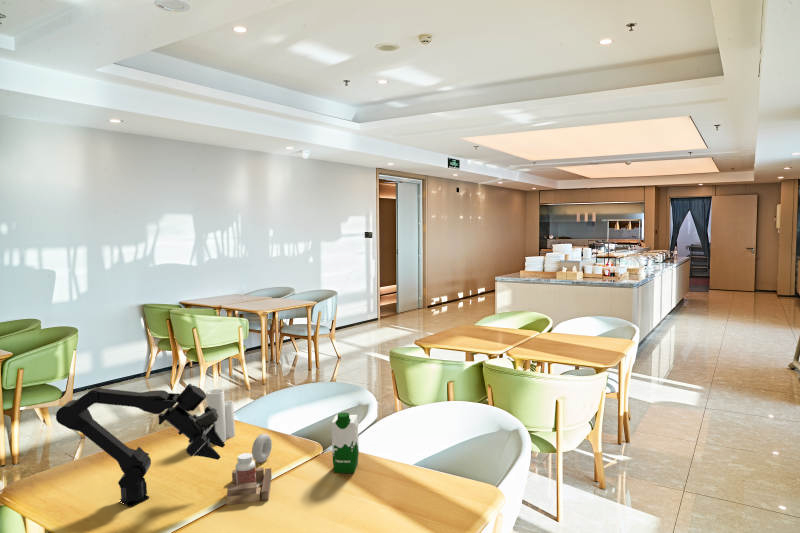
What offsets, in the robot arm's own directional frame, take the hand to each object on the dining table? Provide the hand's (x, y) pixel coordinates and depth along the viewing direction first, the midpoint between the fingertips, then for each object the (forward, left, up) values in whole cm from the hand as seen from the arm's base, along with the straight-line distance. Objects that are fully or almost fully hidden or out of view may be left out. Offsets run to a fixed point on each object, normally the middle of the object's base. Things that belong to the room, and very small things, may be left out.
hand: (221, 452), depth 174 cm
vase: (+29, +35, -13) cm, 47 cm away
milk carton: (+32, -25, -13) cm, 43 cm away
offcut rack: (+5, -7, -13) cm, 15 cm away
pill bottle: (+5, -5, -13) cm, 15 cm away
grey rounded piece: (+22, +5, -13) cm, 26 cm away
